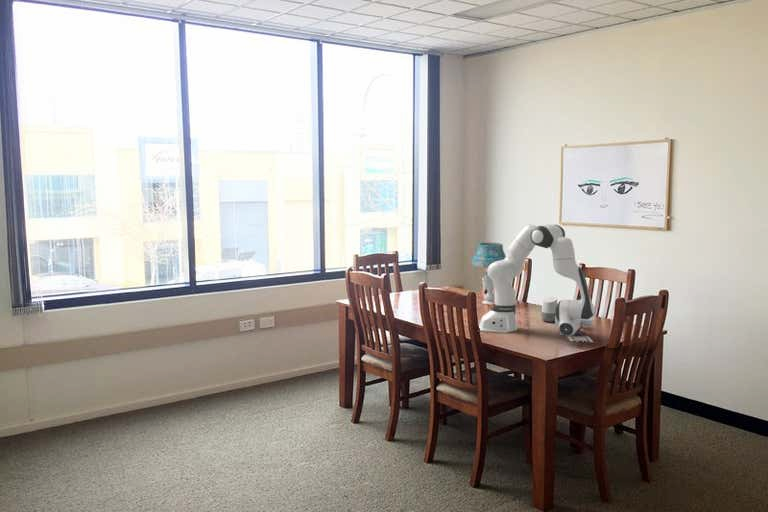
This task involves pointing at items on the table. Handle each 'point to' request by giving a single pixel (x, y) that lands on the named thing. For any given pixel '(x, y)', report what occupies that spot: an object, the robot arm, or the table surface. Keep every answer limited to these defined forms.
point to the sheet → (579, 338)
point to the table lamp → (484, 258)
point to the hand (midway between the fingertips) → (577, 317)
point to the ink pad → (580, 332)
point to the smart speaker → (549, 309)
